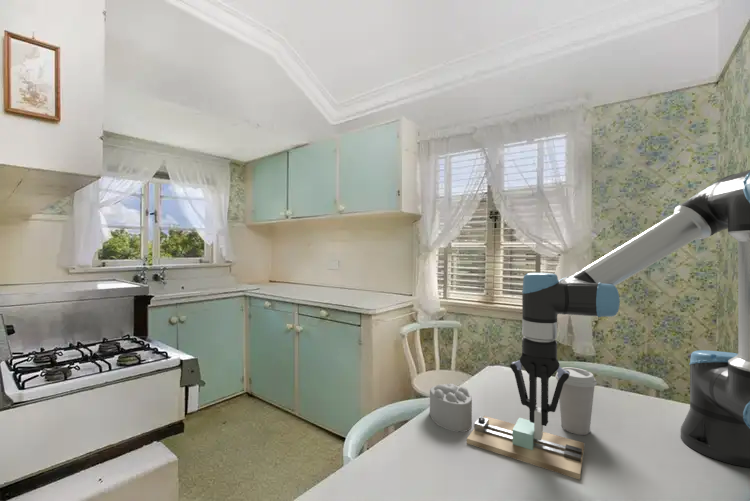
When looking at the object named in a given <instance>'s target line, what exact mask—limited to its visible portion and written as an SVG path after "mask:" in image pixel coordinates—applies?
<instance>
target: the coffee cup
mask: <svg viewBox="0 0 750 501" xmlns="http://www.w3.org/2000/svg"><path fill="white" fill-rule="evenodd" d="M562 368H563V369H564V370H565V371H566V370H567V371H569V372H570V375H569V378H568V379H567V380H566V381H565V382H564V384H563V387H562V391H561V394H560V397H559V401H558V403H559V413H560V421H561V422H560V424H561V425H560V426H561V428H563V429H564V431H566V432H568V433H571V434H575V435H578V436H579V435H580V436H582V435H585V436H586V435H589V433H590V430H591V420H592V414H593V405H594V404H593V403H594V394H595V387H596V386H597V385H598V383H597V380H596V378H595V376H594V374H593V373H592V372H591V371H589V370H586V369H582V368H579V367H578V368H577V367H571V366H568V367H567V366H566V367H562ZM557 374H558V372H557V371H556V374H555V377H554V378H555V379H556V380H557V381H558V380H559V378H558V376H557Z"/></svg>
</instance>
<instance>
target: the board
mask: <svg viewBox="0 0 750 501" xmlns="http://www.w3.org/2000/svg"><path fill="white" fill-rule="evenodd" d="M482 417H483V418H487V419H489V425H492V426H496V427H499V428H503V429H507V430H510V431H513V428H514V426H515V424H516V423H513V422H508V421H506V420H501V419H497V418H493V417H489V416H486V415H483V416H482ZM487 429H488V428H487ZM489 430H491V429H489ZM492 431H495V430H492ZM495 432H498V431H495ZM499 433H502V432H499ZM502 434H505V433H502ZM506 435H509V434H506ZM509 436H512V435H509ZM542 440H546V441H549V442H553V443H556V444H560V445H563V446H566V444H567V445H570V446H574V447H577V448H581V449H582V455H581V462H579V461H576V460H572V459H569V458H565V457H564V456H561V455H558V454H554V453H551V452H548V451H544V450H541V449H538V448H534V447H533V450H530V449H527V448H524V447H520V446H517V445H514V444H513V441H511V440H507V439H504V438H501V437H497V436H494V435H490V434H487V433H482V432H478V431H475V430H474V429H473V430H472V431H471V432H470V434H468V436H467V438H466V444H467V445H471V446H475V447H477V448H480V449H483V450H485V451H489V452H493V453H496V454H498V455H502V456H506V457H509V458H512V459H514V460H518V461H520V462H524V463H526V464H529V465H533V466H537V467H539V468H542V469H545V470H548V471H550V472H551V471H552V472H555V473H557V474H560V475H564V476H567V477H571V478H573V479H577V480H581V474H582V468H583V460H584V453H585V442H582V441H578V440H575V439H570V438H567V437H563V436H560V435H556V434H552V433H549V432H545V431H543V436H542ZM533 443H536V442H533ZM537 444H540V443H537ZM540 445H543V444H540ZM544 446H547V445H544ZM547 447H550V446H547ZM551 448H554V447H551ZM554 449H557V448H554ZM557 450H561V449H557ZM561 451H564V450H561Z"/></svg>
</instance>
